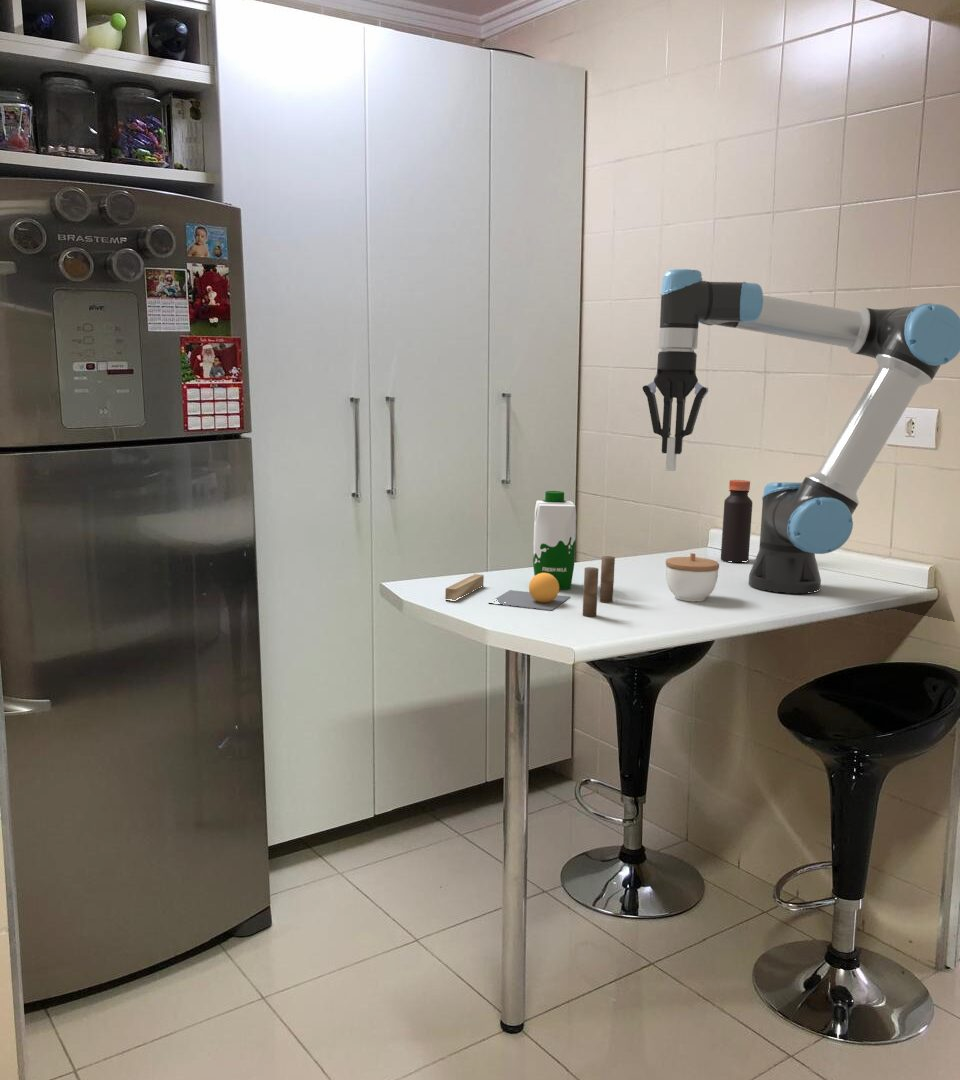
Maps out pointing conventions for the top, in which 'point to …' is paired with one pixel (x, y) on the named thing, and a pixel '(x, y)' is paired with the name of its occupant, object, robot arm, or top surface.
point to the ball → (544, 587)
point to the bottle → (737, 522)
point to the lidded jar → (691, 577)
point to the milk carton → (555, 538)
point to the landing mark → (528, 600)
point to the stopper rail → (464, 587)
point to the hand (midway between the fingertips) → (670, 470)
